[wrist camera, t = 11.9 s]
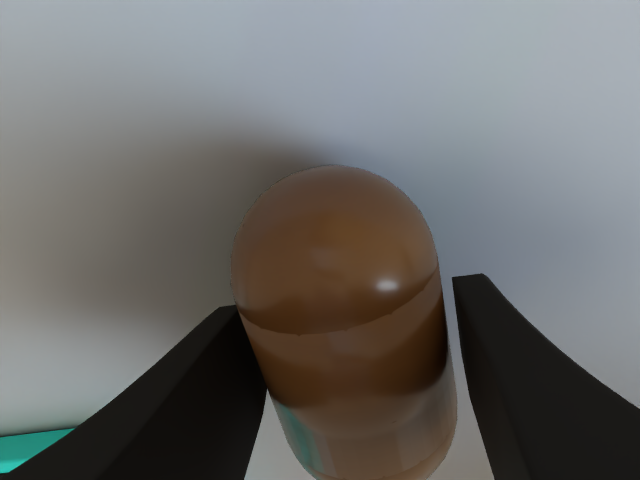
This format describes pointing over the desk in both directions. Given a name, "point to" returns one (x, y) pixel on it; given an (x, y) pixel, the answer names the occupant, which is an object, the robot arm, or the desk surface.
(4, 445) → the handheld game console
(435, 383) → the brown egg capsule
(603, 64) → the desk surface
